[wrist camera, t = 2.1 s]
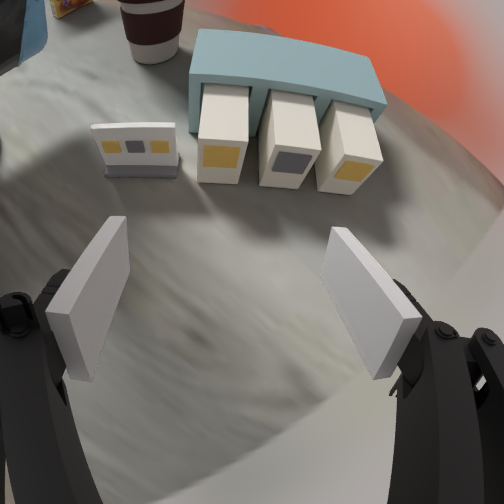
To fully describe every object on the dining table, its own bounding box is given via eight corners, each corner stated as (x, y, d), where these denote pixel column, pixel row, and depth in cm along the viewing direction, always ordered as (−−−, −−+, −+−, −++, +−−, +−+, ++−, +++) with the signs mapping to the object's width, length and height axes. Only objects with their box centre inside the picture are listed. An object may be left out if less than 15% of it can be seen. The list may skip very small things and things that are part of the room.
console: (188, 132, 35) (188, 73, 26) (196, 84, 37) (199, 28, 28) (353, 150, 38) (387, 104, 29) (342, 103, 41) (368, 57, 32)
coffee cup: (194, 61, 39) (200, -24, 25) (128, 78, 36) (116, -9, 22) (177, 31, 41) (180, -42, 27) (120, 45, 38) (111, -29, 24)
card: (105, 177, 31) (87, 138, 24) (110, 155, 32) (95, 115, 25) (176, 178, 33) (172, 137, 26) (179, 155, 34) (177, 113, 27)
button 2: (317, 193, 35) (345, 156, 27) (309, 125, 38) (329, 84, 30) (351, 197, 35) (383, 163, 28) (339, 130, 38) (363, 92, 31)
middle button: (259, 187, 34) (275, 146, 26) (258, 118, 37) (270, 74, 29) (297, 191, 34) (321, 152, 27) (291, 122, 37) (309, 80, 30)
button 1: (197, 184, 33) (197, 140, 25) (204, 114, 36) (207, 68, 28) (237, 186, 33) (248, 143, 26) (239, 116, 36) (248, 71, 29)
